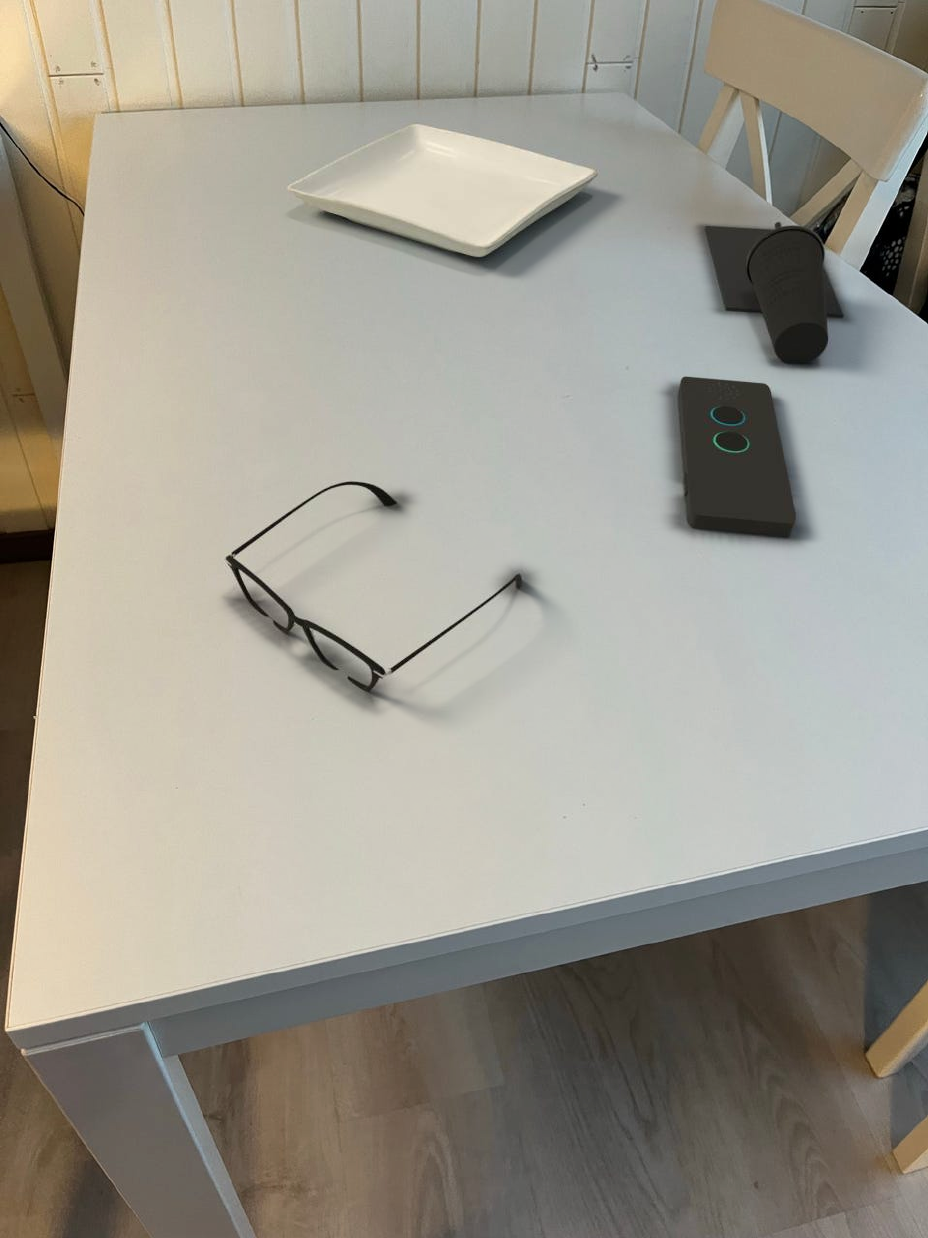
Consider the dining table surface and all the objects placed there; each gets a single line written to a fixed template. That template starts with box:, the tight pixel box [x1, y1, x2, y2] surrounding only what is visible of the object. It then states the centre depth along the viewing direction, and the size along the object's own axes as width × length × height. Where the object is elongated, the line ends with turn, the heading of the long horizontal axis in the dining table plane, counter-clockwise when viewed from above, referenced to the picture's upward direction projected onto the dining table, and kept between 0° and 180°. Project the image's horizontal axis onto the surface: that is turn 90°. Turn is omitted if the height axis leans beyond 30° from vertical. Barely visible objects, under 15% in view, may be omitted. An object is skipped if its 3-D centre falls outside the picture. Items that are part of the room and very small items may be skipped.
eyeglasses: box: [224, 480, 523, 692], centre depth 66 cm, size 16×16×4 cm
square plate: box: [286, 123, 599, 258], centre depth 114 cm, size 27×27×4 cm
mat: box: [704, 225, 845, 319], centre depth 105 cm, size 20×12×1 cm, turn 176°
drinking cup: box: [746, 221, 829, 365], centre depth 95 cm, size 8×8×20 cm
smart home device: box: [677, 376, 797, 539], centre depth 80 cm, size 8×2×20 cm
